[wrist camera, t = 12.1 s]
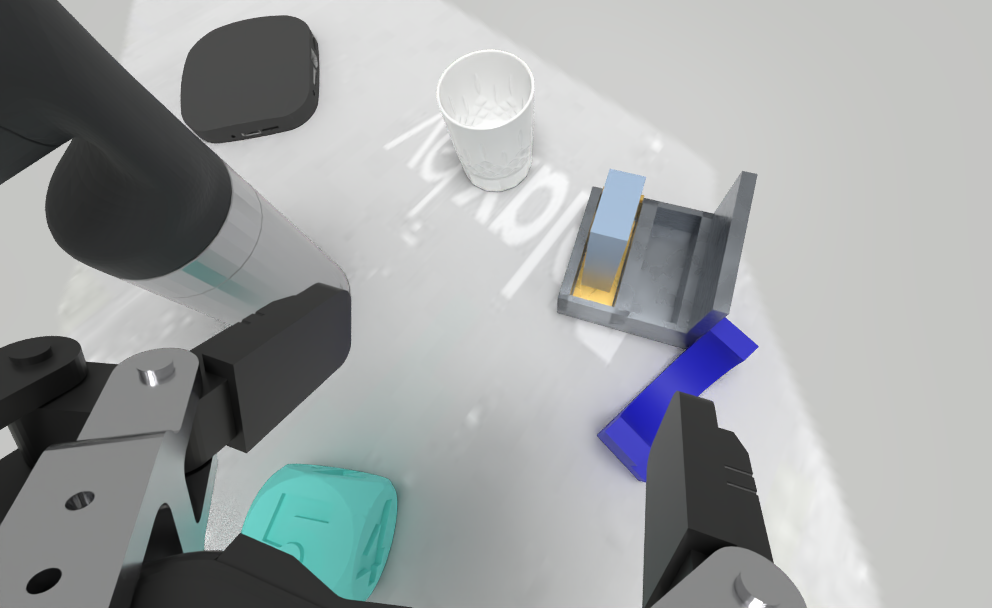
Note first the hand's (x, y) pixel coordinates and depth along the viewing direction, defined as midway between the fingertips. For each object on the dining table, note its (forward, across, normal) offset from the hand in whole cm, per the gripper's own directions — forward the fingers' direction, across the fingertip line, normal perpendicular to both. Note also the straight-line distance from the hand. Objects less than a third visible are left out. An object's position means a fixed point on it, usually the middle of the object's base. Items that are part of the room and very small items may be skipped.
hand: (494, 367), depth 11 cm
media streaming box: (+40, +41, +2) cm, 57 cm away
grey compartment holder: (+31, -5, +9) cm, 33 cm away
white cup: (+37, +11, +4) cm, 39 cm away
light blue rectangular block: (+30, -2, +8) cm, 32 cm away
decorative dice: (+12, +12, +28) cm, 33 cm away
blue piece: (+24, -10, +17) cm, 31 cm away
